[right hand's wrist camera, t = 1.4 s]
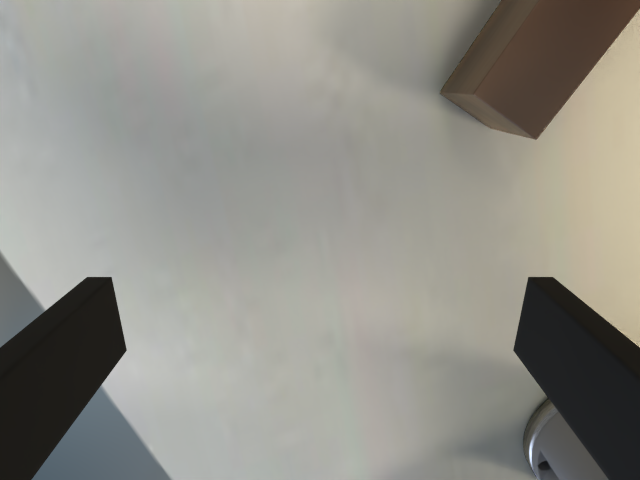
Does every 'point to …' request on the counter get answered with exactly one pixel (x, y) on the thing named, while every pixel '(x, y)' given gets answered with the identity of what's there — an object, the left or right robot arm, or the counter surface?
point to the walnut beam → (534, 60)
